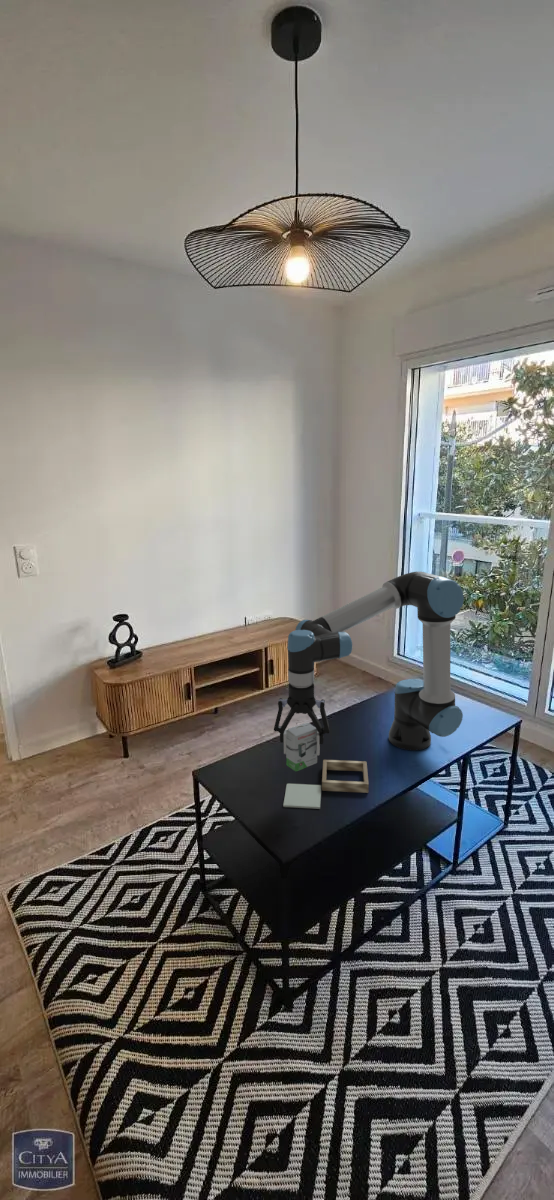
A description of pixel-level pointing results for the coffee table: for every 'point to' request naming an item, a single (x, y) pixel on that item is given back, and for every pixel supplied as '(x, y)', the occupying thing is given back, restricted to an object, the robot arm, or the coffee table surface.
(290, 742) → the ink box
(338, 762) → the pocket
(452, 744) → the coffee table surface
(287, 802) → the tile
